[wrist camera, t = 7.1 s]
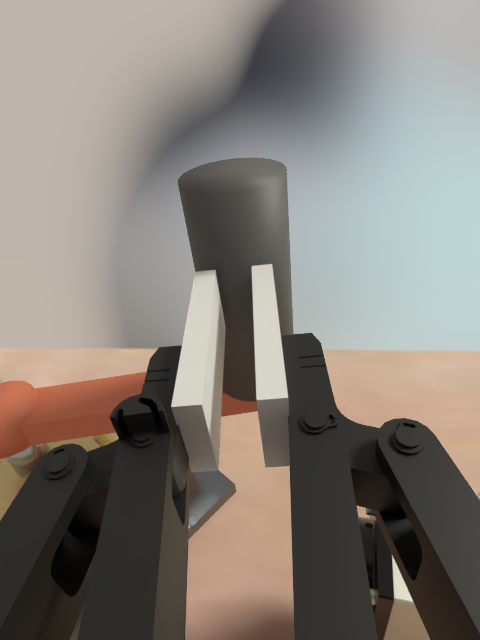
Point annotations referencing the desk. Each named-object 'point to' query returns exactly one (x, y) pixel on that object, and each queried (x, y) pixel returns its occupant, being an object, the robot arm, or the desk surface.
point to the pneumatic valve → (388, 587)
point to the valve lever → (208, 254)
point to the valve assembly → (11, 473)
